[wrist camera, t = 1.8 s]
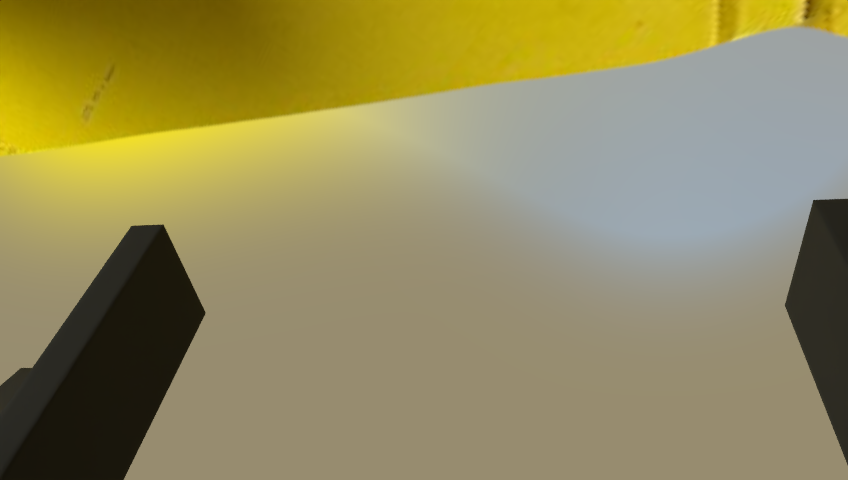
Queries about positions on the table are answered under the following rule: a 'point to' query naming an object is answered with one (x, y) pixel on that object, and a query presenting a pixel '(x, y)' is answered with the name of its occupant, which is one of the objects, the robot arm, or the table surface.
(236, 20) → the table surface
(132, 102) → the table surface
